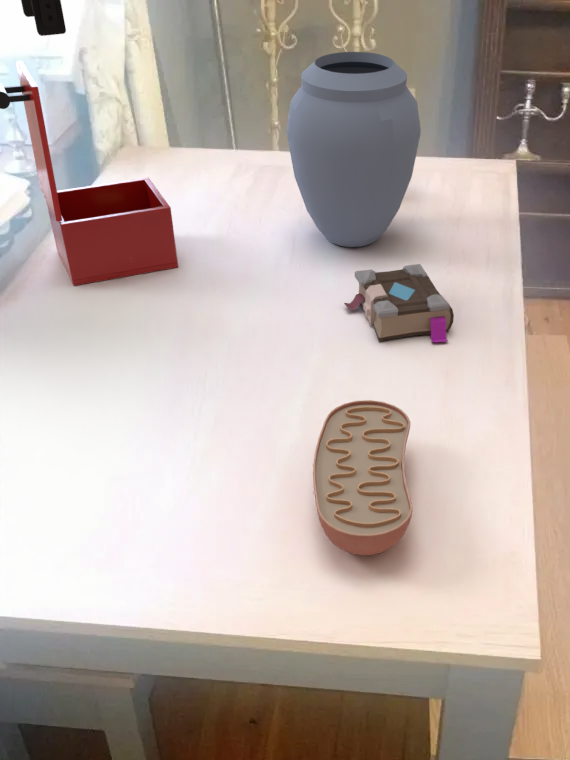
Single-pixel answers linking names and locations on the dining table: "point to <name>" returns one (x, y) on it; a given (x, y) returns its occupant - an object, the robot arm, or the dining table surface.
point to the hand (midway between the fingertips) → (44, 24)
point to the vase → (353, 144)
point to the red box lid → (34, 132)
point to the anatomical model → (363, 476)
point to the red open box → (114, 231)
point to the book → (402, 304)
